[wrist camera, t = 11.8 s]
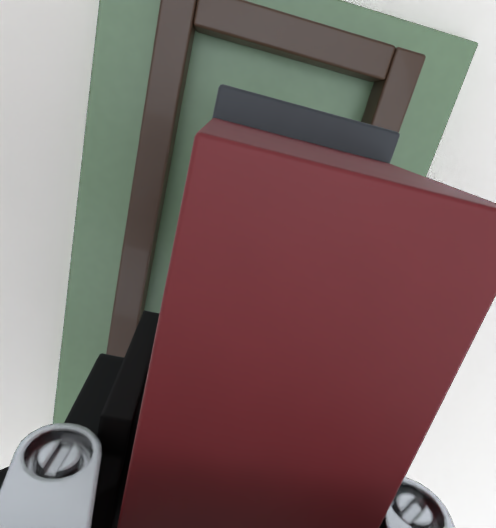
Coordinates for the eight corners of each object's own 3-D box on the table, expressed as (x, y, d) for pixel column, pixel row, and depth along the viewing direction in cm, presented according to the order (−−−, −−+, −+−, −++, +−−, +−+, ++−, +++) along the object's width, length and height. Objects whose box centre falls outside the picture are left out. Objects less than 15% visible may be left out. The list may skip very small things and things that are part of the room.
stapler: (221, 86, 9) (209, 60, 4) (372, 127, 10) (565, 161, 4) (128, 527, 14) (61, 809, 8) (232, 540, 14) (235, 817, 9)
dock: (52, 458, 20) (35, 491, 18) (112, -66, 13) (94, -92, 11) (295, 494, 21) (301, 527, 20) (469, 44, 14) (502, 36, 13)
